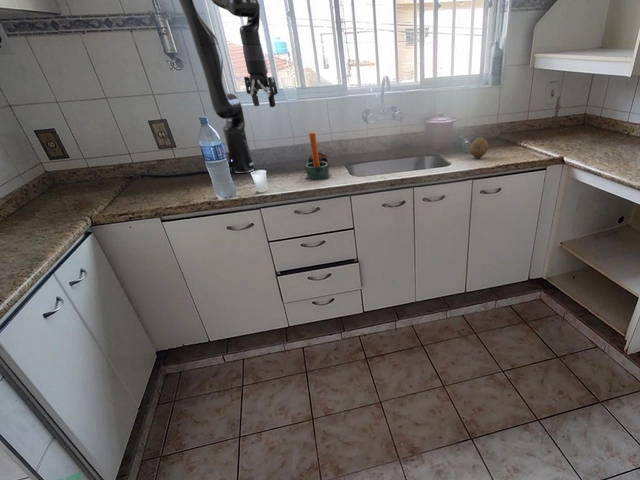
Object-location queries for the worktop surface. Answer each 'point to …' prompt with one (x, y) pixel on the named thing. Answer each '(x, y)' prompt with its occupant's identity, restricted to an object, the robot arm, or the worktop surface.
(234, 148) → the robot arm
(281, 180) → the worktop surface
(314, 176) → the utensil cup
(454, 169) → the worktop surface
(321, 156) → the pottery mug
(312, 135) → the dish brush
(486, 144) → the brown potato
